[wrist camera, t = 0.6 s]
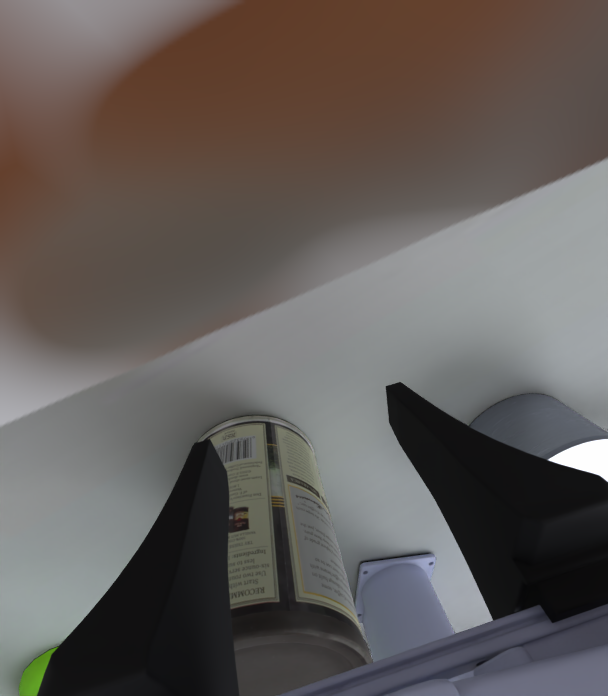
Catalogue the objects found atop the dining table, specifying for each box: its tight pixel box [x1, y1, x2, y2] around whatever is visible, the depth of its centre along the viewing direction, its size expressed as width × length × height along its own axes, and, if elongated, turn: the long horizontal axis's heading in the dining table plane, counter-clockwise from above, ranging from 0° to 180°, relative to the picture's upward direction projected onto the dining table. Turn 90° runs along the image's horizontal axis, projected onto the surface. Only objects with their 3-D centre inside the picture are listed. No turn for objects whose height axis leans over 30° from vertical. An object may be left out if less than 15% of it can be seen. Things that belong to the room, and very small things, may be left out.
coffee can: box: [198, 415, 373, 696], centre depth 21 cm, size 10×10×14 cm
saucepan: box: [469, 393, 608, 481], centre depth 28 cm, size 12×22×8 cm, turn 88°
